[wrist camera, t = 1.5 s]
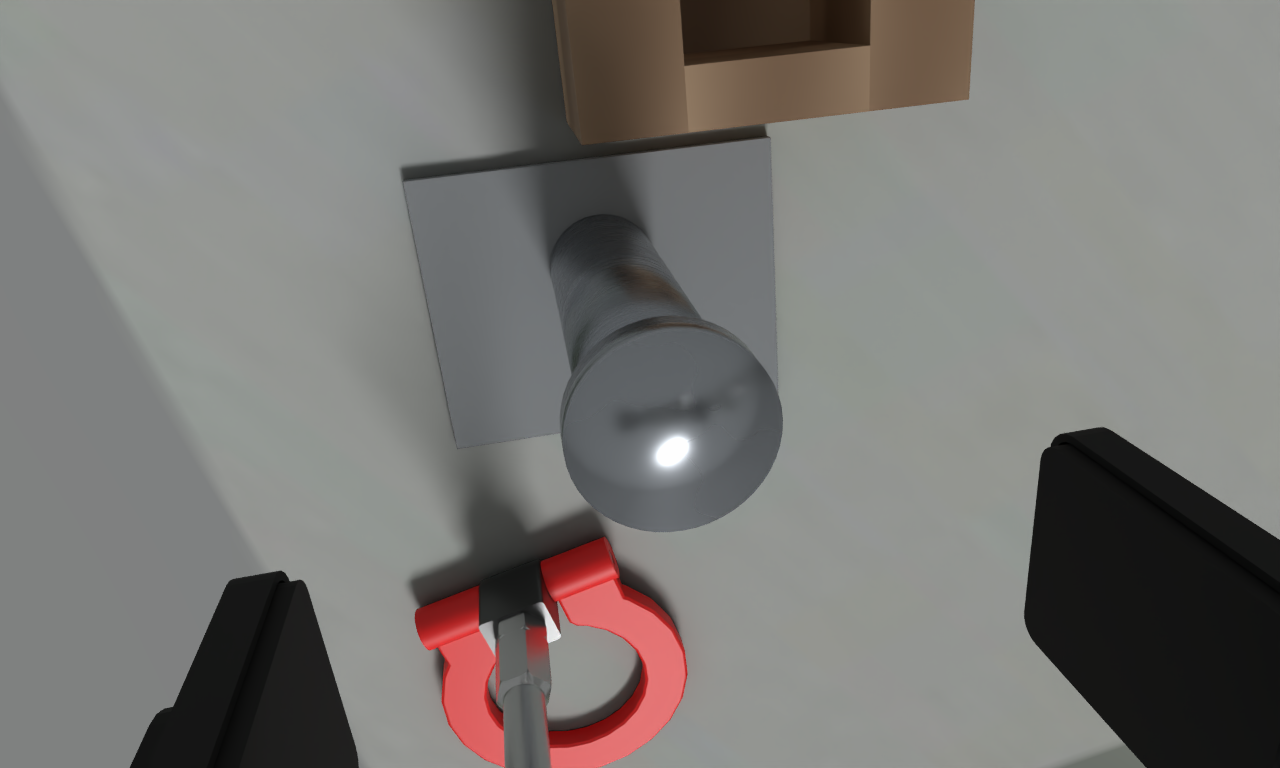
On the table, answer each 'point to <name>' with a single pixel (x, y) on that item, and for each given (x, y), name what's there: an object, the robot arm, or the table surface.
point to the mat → (521, 251)
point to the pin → (654, 387)
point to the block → (753, 61)
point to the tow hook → (518, 644)
